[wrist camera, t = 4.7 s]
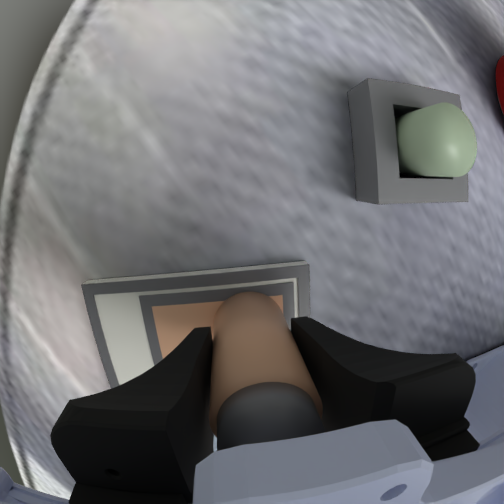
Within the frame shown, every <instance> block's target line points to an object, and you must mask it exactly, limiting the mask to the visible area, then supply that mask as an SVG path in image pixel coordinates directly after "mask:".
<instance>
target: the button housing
mask: <svg viewBox="0 0 504 504" xmlns="http://www.w3.org/2000/svg"><path fill="white" fill-rule="evenodd" d="M347 94H348V102H349V110H350V120H351V129H352V140H353V152H354V166H355V183H356V201H361V202H367V203H373V204H403V203H438V202H468V173H466V174H465V175H463V176H460V177H439V176H426V178H399V162H398V148H397V137H396V127H395V118H394V116H400V115H403V114H406V113H409V112H412V111H415V110H419V109H422V108H425V107H428V106H432V105H435V104H438V103H444V102H445V103H450V104H453V105H455V106H457V107H458V108H459V109H461V110H462V108H461V102H460V96H459V95H458V94H454V93H449V92H445V91H441V90H436V89H431V88H426V87H421V86H416V85H411V84H405V83H399V82H392V81H385V80H378V79H369V78H367V79H366V80H364V81H363V82H361V83H360V84H358V85H357V86H355V87H354V88H352V89H351V90H349V91H348V92H347Z"/></svg>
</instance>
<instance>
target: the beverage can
mask: <svg viewBox="0 0 504 504" xmlns="http://www.w3.org/2000/svg"><path fill="white" fill-rule="evenodd" d="M496 88H497V96H498V101H499V104H500V108H501V111H502V113H503V116H504V55H503V56H502V57H501V58H500V59H499V61H498V63H497V67H496Z"/></svg>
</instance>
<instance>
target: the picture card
mask: <svg viewBox="0 0 504 504" xmlns="http://www.w3.org/2000/svg"><path fill="white" fill-rule="evenodd" d="M81 286H82V290H83V295H84V299H85V303H86V307H87V311H88V315H89V319H90V323H91V326H92V330H93V334H94V337H95V341H96V344H97V347H98V351H99V354H100V357H101V360H102V363H103V366H104V369H105V372H106V375H107V378H108V381H109V384H110V386H111V389H112V388H114V387H117V386H119V385H121V384H124V383H126V382H128V381H130V380H131V379H133V378H135V377H137V376H139V375H141V374H143V373H144V372H146V371H147V370H149V369H150V368H152V367H153V366H155V365H156V364H157V363H159V362H160V361H161V360H162V359H163V358H165V357H166V356H167V355H168V354H169V353H170V352H171V351H173V350H174V349H175V348H176V347H177V346H178V345H179V344H180V343H181V342H182V341H183V340H184V339H185V337H186V336H187V335H188V334H189V333H190V332H191V331H192V330H193V329H194V328H197V327H210V326H211V332H212V339H213V329H214V318H215V315H216V312H217V310H218V308H219V307H220V306H221V304H222V303H223V302H224V301H225V300H227V299H228V298H230V297H231V296H233V295H235V294H238V293H242V292H258V293H262V294H265V295H267V296H269V297H270V298H272V299H273V300H274V301H275V302H276V303H277V304H278V305H279V307H280V308H281V311H282V313H283V315H284V317H285V320H286V322H287V324H288V326H289V329H290V331H291V318H297V317H304V316H307V317H310V271H309V264H308V263H307V262H306V261H298V262H288V263H278V264H267V265H257V266H247V267H236V268H225V269H214V270H203V271H192V272H181V273H169V274H157V275H145V276H133V277H121V278H109V279H96V280H87V281H86V282H84V283H83V284H82V285H81ZM213 450H214V452H215V451H217V438H216V436H215V435H214V441H213Z"/></svg>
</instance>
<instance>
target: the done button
mask: <svg viewBox="0 0 504 504" xmlns="http://www.w3.org/2000/svg"><path fill="white" fill-rule="evenodd" d="M394 118H395V127H396V137H397V148H398V162H399V173H401V174H403V175H407V176H439V177H460V176H463V175H465V174H466V173H468V172H469V171H470V169H471V168H472V166H473V164H474V162H475V158H476V153H477V142H476V136H475V132H474V129H473V127H472V124H471V122H470V120H469V119H468V117H467V116H466V115H465V113H464V112H463V111H462V110H461V109H459V108H458V107H457V106H455V105H453V104H450V103H445V102H444V103H438V104H435V105H432V106H428V107H425V108H422V109H419V110H415V111H412V112H409V113H406V114H403V115H400V116H397V117H394Z"/></svg>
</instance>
